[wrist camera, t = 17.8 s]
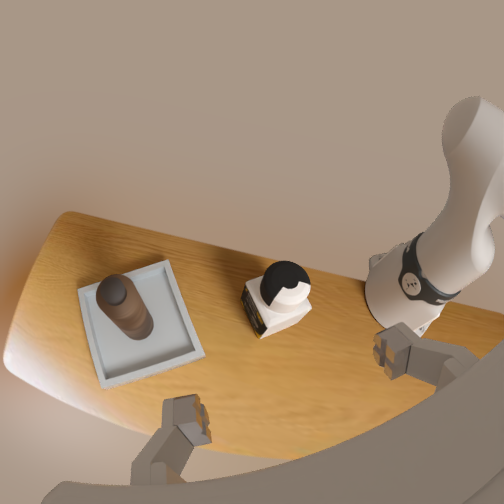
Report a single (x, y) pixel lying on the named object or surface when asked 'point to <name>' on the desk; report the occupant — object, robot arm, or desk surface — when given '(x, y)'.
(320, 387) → the desk surface
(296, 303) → the medicine bottle
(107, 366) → the pale dish
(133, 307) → the walnut pepper mill
